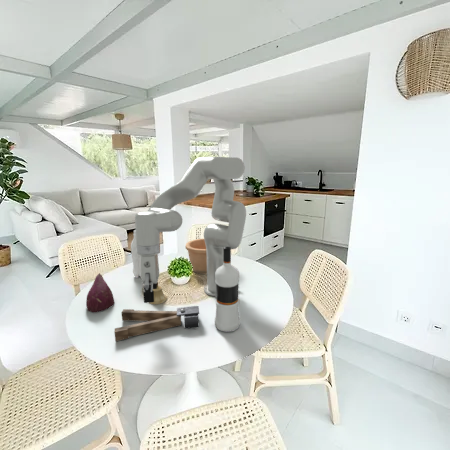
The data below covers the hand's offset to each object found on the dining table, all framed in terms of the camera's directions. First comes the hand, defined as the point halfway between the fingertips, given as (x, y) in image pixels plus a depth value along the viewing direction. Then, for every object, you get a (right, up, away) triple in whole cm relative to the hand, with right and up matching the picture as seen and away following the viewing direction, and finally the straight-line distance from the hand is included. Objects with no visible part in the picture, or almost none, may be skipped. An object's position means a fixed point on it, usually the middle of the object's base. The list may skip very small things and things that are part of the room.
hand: (150, 295), depth 88 cm
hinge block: (+12, -12, +5) cm, 18 cm away
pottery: (+15, 0, +55) cm, 57 cm away
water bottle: (-19, -3, +45) cm, 49 cm away
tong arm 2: (-2, -11, +7) cm, 13 cm away
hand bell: (-3, -8, +22) cm, 23 cm away
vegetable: (-26, -9, +17) cm, 33 cm away
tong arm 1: (0, -13, 0) cm, 13 cm away
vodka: (+27, -12, +4) cm, 30 cm away
